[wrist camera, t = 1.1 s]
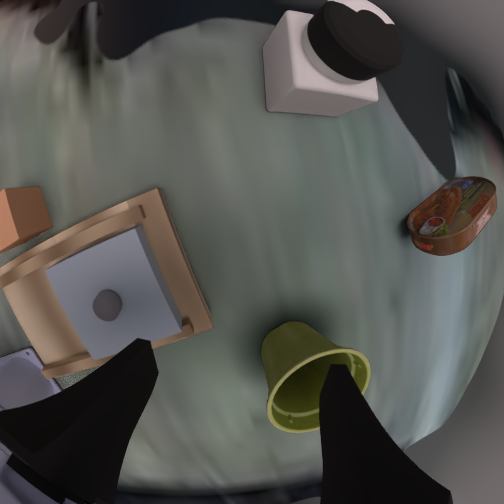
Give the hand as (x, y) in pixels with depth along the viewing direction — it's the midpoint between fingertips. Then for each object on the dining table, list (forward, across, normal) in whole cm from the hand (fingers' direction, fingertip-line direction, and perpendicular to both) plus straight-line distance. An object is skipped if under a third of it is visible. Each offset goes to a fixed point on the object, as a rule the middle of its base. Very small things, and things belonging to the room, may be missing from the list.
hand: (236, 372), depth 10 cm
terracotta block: (+9, +21, -3) cm, 23 cm away
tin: (+24, -20, -3) cm, 32 cm away
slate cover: (+8, +11, +3) cm, 14 cm away
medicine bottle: (+20, -2, -14) cm, 25 cm away
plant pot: (+15, -3, +12) cm, 19 cm away
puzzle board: (+10, +14, +4) cm, 18 cm away
